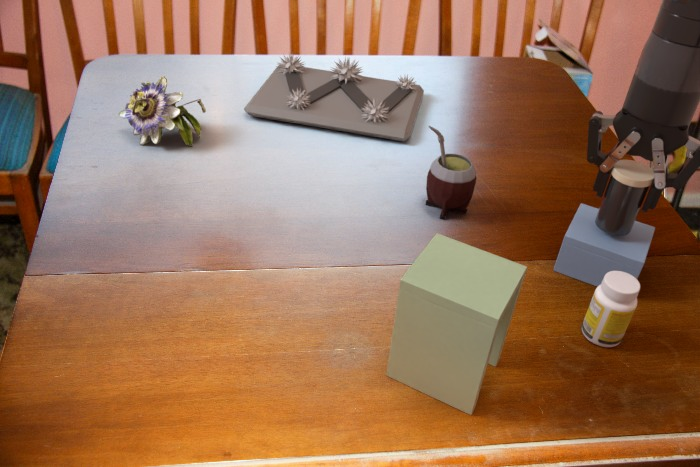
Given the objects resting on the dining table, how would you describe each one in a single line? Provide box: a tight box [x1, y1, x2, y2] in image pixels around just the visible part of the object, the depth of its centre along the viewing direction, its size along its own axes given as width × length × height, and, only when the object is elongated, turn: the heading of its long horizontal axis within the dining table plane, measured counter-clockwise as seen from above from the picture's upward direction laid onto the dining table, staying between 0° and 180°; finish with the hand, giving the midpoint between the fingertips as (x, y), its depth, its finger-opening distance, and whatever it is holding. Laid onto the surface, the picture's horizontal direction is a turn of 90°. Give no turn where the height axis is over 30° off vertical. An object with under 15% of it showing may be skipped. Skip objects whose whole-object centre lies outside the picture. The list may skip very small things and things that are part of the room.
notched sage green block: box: [385, 233, 528, 416], centre depth 69 cm, size 10×9×14 cm
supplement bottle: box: [581, 271, 641, 348], centre depth 76 cm, size 5×5×8 cm
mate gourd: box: [425, 125, 477, 221], centre depth 93 cm, size 8×8×15 cm
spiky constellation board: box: [243, 53, 425, 142], centre depth 121 cm, size 30×22×7 cm
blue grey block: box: [553, 203, 656, 288], centre depth 88 cm, size 10×9×6 cm
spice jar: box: [595, 159, 654, 236], centre depth 83 cm, size 5×5×8 cm
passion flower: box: [118, 75, 207, 147], centre depth 108 cm, size 11×11×12 cm
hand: (622, 200), depth 83 cm, fingers closed on spice jar, 5 cm apart
